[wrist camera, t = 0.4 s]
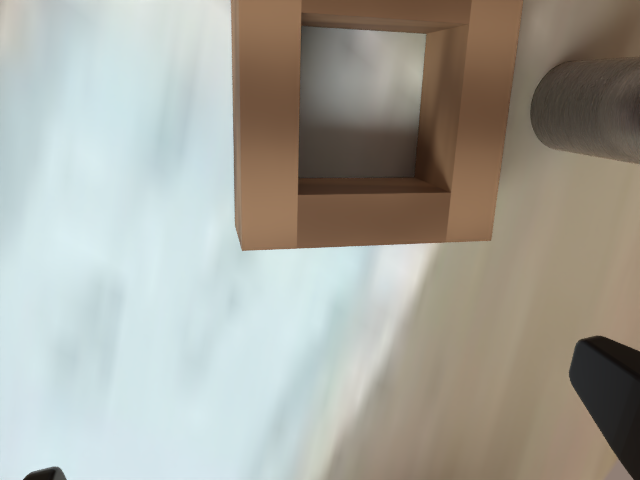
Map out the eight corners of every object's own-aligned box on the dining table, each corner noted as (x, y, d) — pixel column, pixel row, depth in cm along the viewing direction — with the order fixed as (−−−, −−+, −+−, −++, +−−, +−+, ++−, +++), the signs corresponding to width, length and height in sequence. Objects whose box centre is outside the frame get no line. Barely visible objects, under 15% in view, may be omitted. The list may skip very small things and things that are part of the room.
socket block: (450, 219, 24) (491, 240, 20) (234, 225, 21) (242, 250, 18) (475, -16, 21) (528, -35, 17) (230, -38, 18) (237, -64, 15)
